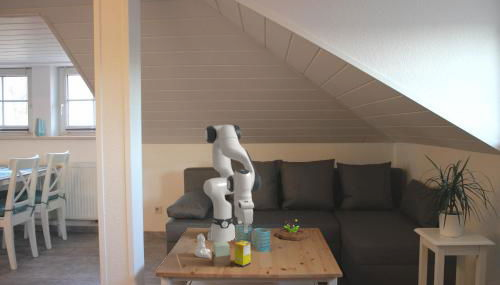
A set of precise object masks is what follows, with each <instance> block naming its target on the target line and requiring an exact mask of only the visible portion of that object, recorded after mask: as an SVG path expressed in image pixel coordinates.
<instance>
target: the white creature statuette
mask: <svg viewBox="0 0 500 285" xmlns="http://www.w3.org/2000/svg"><path fill="white" fill-rule="evenodd" d="M196 240H197V245H196V247H195V249H194V251H193V254H194V255H195V256H196V257H197V258H201V259H210V258H211V250H210V249H209V248H206V243H205V241H206V237H205V235H204V234H203V233H198V235H197V236H196Z"/></svg>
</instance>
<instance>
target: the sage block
mask: <svg viewBox="0 0 500 285" xmlns="http://www.w3.org/2000/svg"><path fill="white" fill-rule="evenodd" d="M212 244H213V245H212V250H213V251H212V252H213V253H214V254H215V256H216V257H219V256H229V255H230V256H231V253H230V251H231V248H230V244H229V243H228V242H227V241H224V242H215V241H212Z"/></svg>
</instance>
